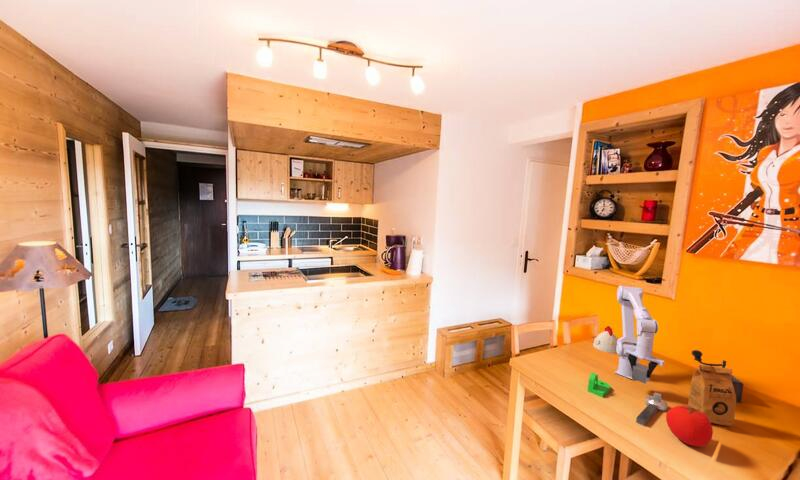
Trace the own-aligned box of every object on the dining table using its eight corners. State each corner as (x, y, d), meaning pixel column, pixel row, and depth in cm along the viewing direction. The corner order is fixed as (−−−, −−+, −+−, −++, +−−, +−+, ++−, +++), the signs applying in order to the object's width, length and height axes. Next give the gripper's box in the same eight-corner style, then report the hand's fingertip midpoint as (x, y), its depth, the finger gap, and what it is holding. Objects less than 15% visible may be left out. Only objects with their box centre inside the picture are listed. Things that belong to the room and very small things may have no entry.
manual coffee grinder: (726, 391, 150) (732, 354, 149) (741, 404, 140) (747, 364, 138) (685, 383, 156) (690, 348, 154) (697, 395, 145) (702, 357, 144)
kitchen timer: (598, 354, 185) (601, 329, 183) (588, 344, 198) (591, 321, 197) (625, 357, 183) (628, 331, 181) (613, 347, 196) (616, 323, 195)
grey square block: (635, 375, 149) (636, 362, 148) (649, 380, 145) (650, 367, 144) (631, 378, 146) (633, 365, 145) (645, 383, 142) (647, 370, 141)
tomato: (714, 445, 113) (719, 411, 112) (705, 458, 106) (710, 423, 105) (670, 425, 123) (674, 394, 122) (659, 436, 116) (663, 403, 115)
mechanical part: (602, 398, 140) (604, 380, 140) (587, 391, 145) (589, 374, 144) (611, 388, 148) (613, 372, 148) (597, 383, 153) (598, 367, 152)
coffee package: (737, 431, 122) (746, 375, 120) (697, 423, 125) (704, 369, 123) (720, 415, 131) (728, 363, 129) (683, 408, 135) (690, 358, 133)
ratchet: (648, 399, 140) (650, 387, 140) (668, 407, 135) (670, 395, 134) (629, 419, 126) (630, 405, 125) (651, 429, 120) (653, 415, 120)
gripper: (622, 341, 147) (619, 370, 149) (662, 353, 136) (658, 384, 137) (628, 338, 152) (624, 366, 153) (666, 350, 140) (663, 379, 141)
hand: (641, 374), depth 145 cm, fingers closed on grey square block, 5 cm apart
